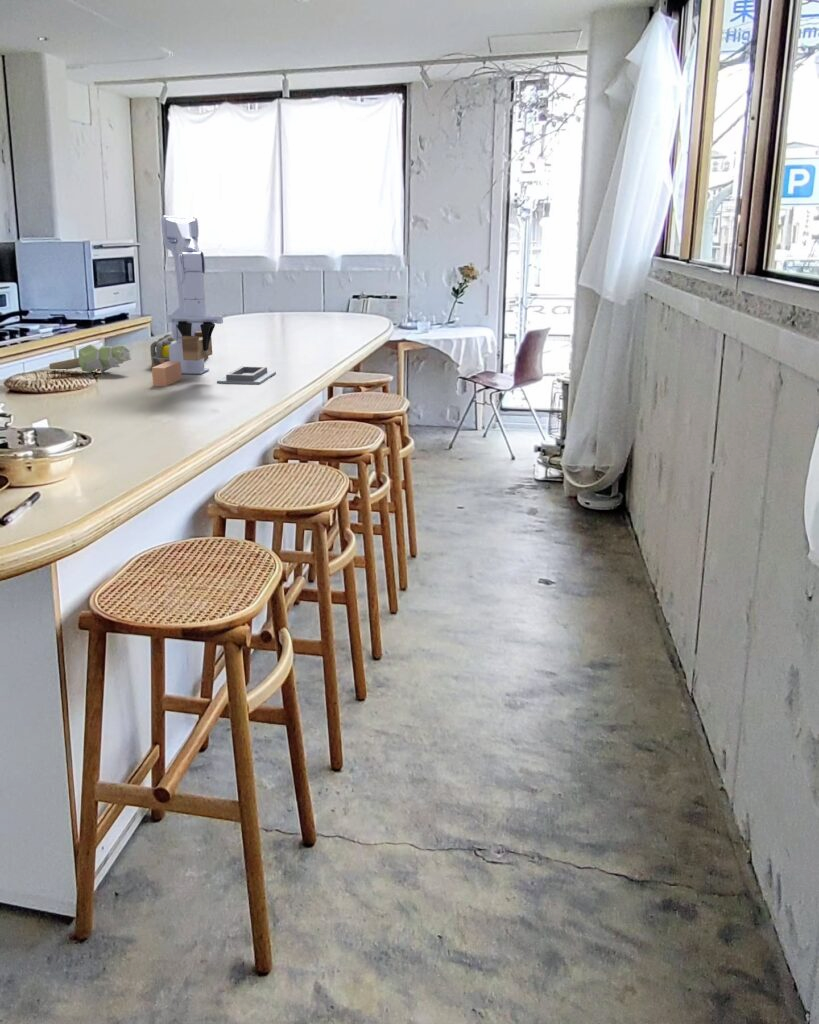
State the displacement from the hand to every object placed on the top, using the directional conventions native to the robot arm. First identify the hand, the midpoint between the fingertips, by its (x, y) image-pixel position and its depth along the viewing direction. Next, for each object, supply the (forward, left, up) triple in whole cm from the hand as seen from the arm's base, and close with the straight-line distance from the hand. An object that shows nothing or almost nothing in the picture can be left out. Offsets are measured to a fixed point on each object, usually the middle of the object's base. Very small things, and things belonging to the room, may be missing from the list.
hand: (197, 350), depth 228 cm
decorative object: (-36, +11, -9) cm, 39 cm away
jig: (+11, +9, -9) cm, 17 cm away
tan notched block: (0, 0, -2) cm, 2 cm away
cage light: (-18, +35, -9) cm, 40 cm away
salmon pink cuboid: (-9, 0, -9) cm, 13 cm away
